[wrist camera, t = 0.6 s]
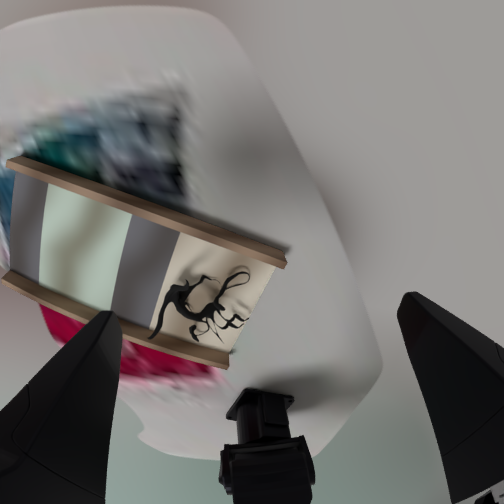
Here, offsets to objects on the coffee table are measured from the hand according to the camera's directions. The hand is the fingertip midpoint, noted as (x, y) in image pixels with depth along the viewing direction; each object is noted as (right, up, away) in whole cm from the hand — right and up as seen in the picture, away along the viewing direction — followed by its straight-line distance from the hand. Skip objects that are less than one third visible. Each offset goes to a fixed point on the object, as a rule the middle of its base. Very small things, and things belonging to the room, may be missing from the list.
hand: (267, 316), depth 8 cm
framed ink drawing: (-11, +1, +14) cm, 18 cm away
